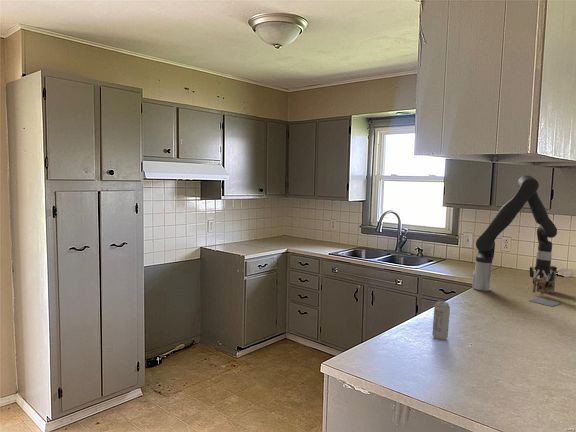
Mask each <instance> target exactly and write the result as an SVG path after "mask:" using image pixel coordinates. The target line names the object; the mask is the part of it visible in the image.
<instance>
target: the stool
mask: <svg viewBox="0 0 576 432" xmlns="http://www.w3.org/2000/svg"><path fill="white" fill-rule="evenodd" d="M536 282H537V289H536ZM540 283H542V291H541V292H540V291H539V285H540ZM545 283H546V280H545V279H541V278H536V279H534V285H532V293H534V294H535V293H536V292H540V295H543V296H544V295H545V294H546V295H547V294H548V292H547V289H548V288H545V292H544V287H545V285H546V284H545Z"/></svg>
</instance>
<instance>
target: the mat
mask: <svg viewBox="0 0 576 432" xmlns="http://www.w3.org/2000/svg"><path fill="white" fill-rule="evenodd" d="M528 302H530V303H535V304H539V305H543V306H547V307H551V308H552V307H556V306H559V305H562V302H558V301H555V300H551V299H547V298H546V299H545V298H542V297H536V298H532V299H528Z"/></svg>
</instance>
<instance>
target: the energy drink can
mask: <svg viewBox="0 0 576 432" xmlns="http://www.w3.org/2000/svg"><path fill="white" fill-rule="evenodd" d="M450 310H451V308H450V305H449V302H447V301H441V300H440V301H436V303H435V304H434V309H433V320H432V321H433V322H432V332H431V333H432V336H433V338H434V339H435V340H437V341H446V340H447V339H448V337H449V336H448V335H449V324H450V314H451V313H450V312H451V311H450Z"/></svg>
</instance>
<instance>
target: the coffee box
mask: <svg viewBox="0 0 576 432" xmlns="http://www.w3.org/2000/svg"><path fill="white" fill-rule="evenodd" d="M557 269H558V267H557V266H554V265H551V266H550V270H551V271H556V272H557ZM537 278H541V279H545V280H546V278H545V277H544V276H542V275H539V276H538V277H537ZM549 278H551V273H549ZM556 279H557V273H556V274H555V278H554V281H550V284H549V287H548V289H547V293H550V292H551V293H553V294H555V287H556ZM545 284H546V283H545ZM536 289H537V282H536ZM540 291H542V283H540V285H539V292H540ZM544 293H545V287H544ZM551 293H550V294H551Z"/></svg>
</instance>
